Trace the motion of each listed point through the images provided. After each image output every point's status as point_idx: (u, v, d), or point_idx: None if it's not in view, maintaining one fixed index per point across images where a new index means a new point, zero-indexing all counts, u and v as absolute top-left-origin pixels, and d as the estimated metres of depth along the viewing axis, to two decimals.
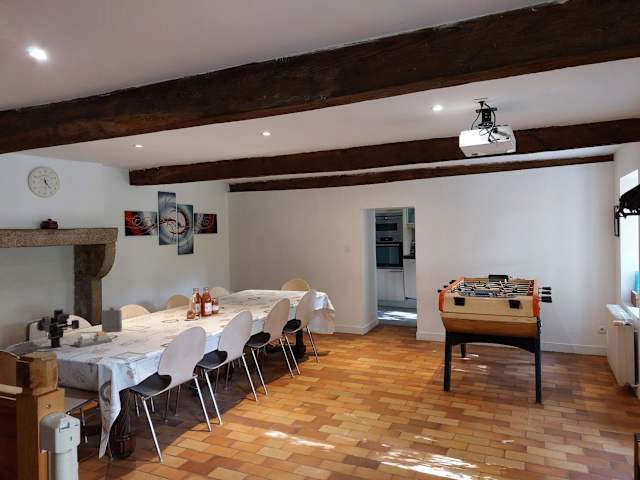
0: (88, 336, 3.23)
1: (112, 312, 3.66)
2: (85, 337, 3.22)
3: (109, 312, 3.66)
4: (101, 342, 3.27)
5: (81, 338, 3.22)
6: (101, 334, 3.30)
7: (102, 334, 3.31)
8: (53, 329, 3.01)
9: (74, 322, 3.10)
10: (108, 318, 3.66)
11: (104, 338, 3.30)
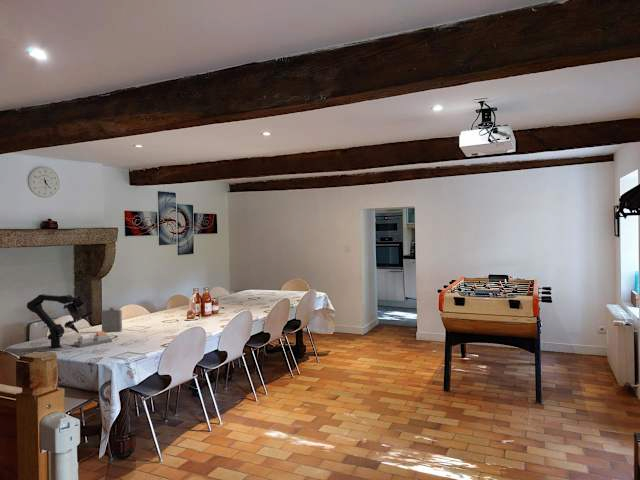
0: (88, 336, 3.23)
1: (112, 312, 3.66)
2: (85, 337, 3.22)
3: (109, 312, 3.66)
4: (101, 342, 3.27)
5: (81, 338, 3.22)
6: (101, 334, 3.30)
7: (102, 334, 3.31)
8: (70, 327, 3.12)
9: (89, 317, 3.20)
10: (108, 318, 3.66)
11: (104, 338, 3.30)
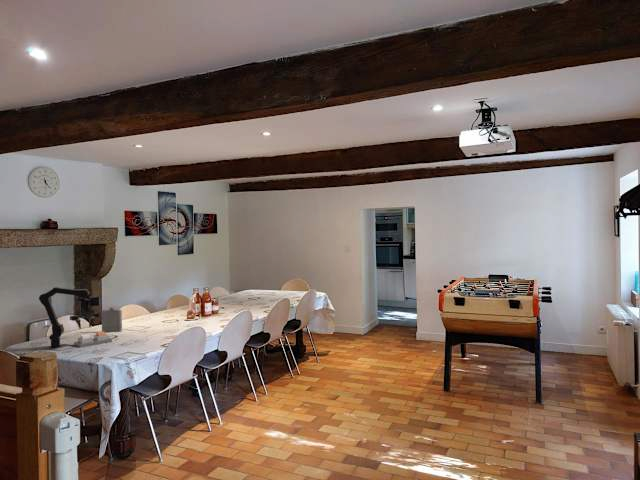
0: (88, 336, 3.23)
1: (112, 312, 3.66)
2: (85, 337, 3.22)
3: (109, 312, 3.66)
4: (101, 342, 3.27)
5: (81, 338, 3.22)
6: (101, 334, 3.30)
7: (102, 334, 3.31)
8: None
9: (92, 319, 3.26)
10: (108, 318, 3.66)
11: (104, 338, 3.30)
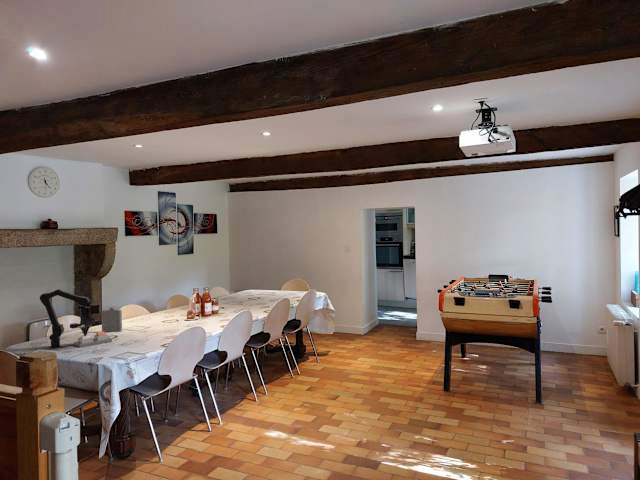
0: (88, 337, 3.23)
1: (112, 312, 3.66)
2: (85, 338, 3.22)
3: (109, 312, 3.66)
4: (101, 342, 3.27)
5: None
6: (101, 334, 3.30)
7: (102, 334, 3.31)
8: None
9: (88, 328, 3.24)
10: (108, 318, 3.66)
11: (104, 338, 3.30)
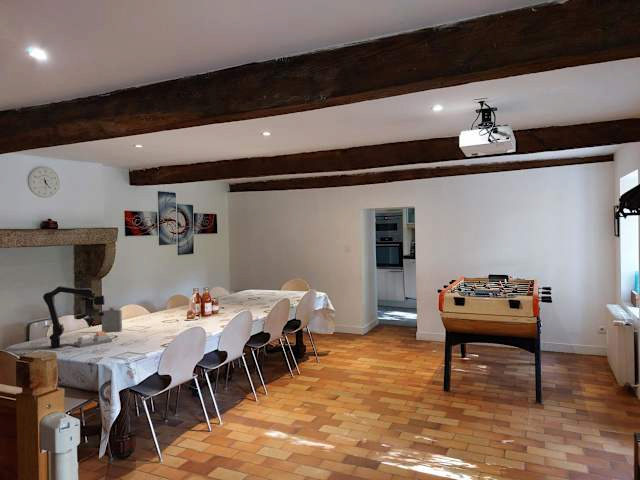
0: (88, 337, 3.23)
1: (112, 312, 3.66)
2: (85, 338, 3.22)
3: (109, 312, 3.66)
4: (101, 342, 3.27)
5: None
6: (101, 334, 3.30)
7: (102, 334, 3.31)
8: None
9: (92, 319, 3.26)
10: (108, 318, 3.66)
11: (104, 338, 3.30)
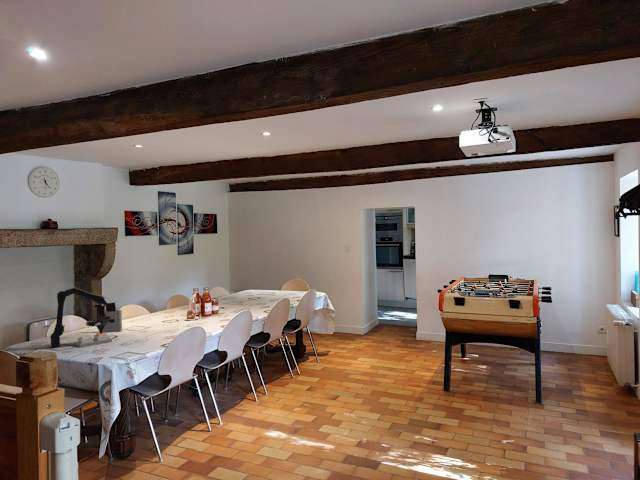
0: (88, 337, 3.23)
1: (112, 312, 3.66)
2: (85, 338, 3.22)
3: (109, 312, 3.66)
4: (101, 342, 3.27)
5: None
6: (101, 335, 3.30)
7: (102, 335, 3.31)
8: None
9: (104, 325, 3.32)
10: None
11: (104, 338, 3.30)
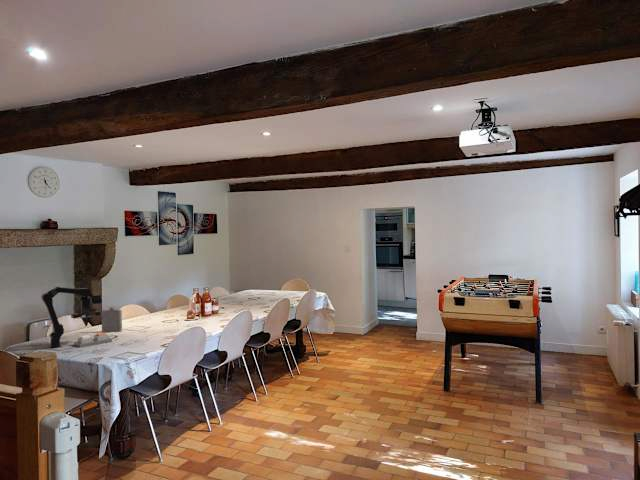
0: (88, 337, 3.23)
1: (112, 312, 3.66)
2: (85, 338, 3.22)
3: (109, 312, 3.66)
4: (101, 342, 3.27)
5: None
6: (101, 335, 3.30)
7: (102, 335, 3.31)
8: None
9: (89, 318, 3.31)
10: (108, 318, 3.66)
11: (104, 338, 3.30)
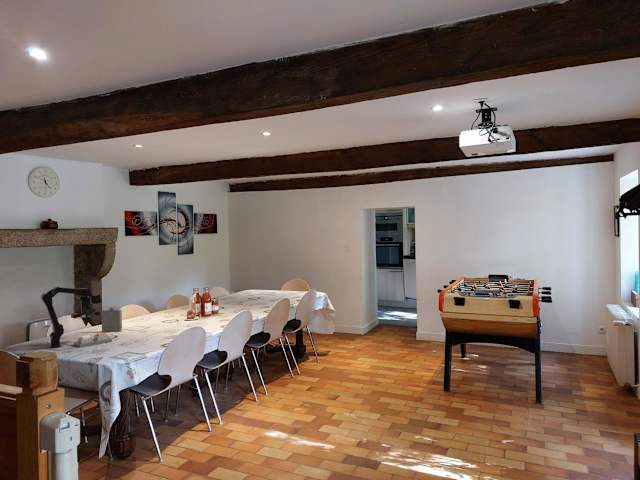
0: (88, 337, 3.23)
1: (112, 312, 3.66)
2: (85, 338, 3.22)
3: (109, 312, 3.66)
4: (101, 342, 3.27)
5: None
6: (101, 335, 3.30)
7: (102, 335, 3.31)
8: None
9: (89, 318, 3.32)
10: (108, 318, 3.66)
11: (104, 338, 3.30)
